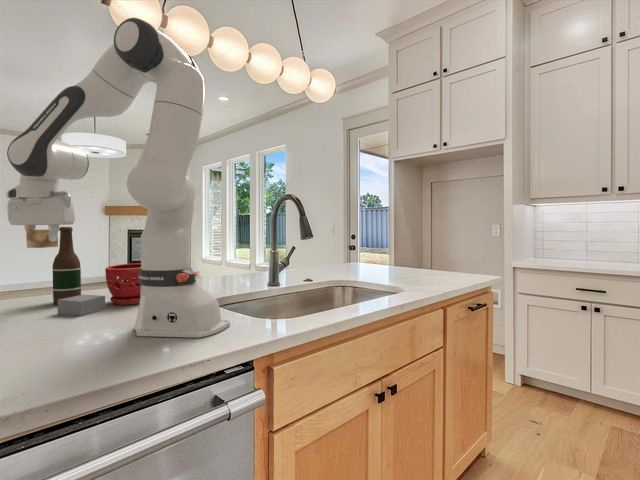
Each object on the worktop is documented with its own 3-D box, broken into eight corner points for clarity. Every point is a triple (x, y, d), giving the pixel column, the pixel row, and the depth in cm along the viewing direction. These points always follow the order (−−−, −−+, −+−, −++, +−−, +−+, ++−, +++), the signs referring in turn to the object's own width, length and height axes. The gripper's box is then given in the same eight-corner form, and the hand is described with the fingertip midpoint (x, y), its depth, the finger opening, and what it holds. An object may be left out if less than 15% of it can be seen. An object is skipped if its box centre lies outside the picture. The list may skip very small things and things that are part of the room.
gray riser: (105, 309, 106) (105, 296, 106) (81, 316, 98) (80, 301, 98) (83, 307, 108) (83, 294, 108) (57, 314, 100) (57, 299, 100)
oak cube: (58, 246, 104) (57, 229, 104) (40, 247, 99) (40, 229, 99) (44, 246, 105) (43, 229, 105) (26, 247, 101) (26, 229, 100)
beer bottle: (86, 302, 116) (85, 227, 115) (59, 306, 109) (57, 227, 108) (75, 299, 120) (73, 226, 119) (47, 303, 113) (46, 226, 113)
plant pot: (123, 297, 123) (122, 262, 123) (160, 298, 122) (159, 263, 122) (96, 306, 110) (95, 267, 110) (137, 307, 109) (136, 267, 109)
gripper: (80, 191, 102) (81, 240, 103) (24, 194, 107) (26, 240, 108) (58, 189, 96) (61, 241, 97) (1, 192, 101) (3, 241, 102)
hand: (42, 241), depth 102 cm, fingers closed on oak cube, 5 cm apart
